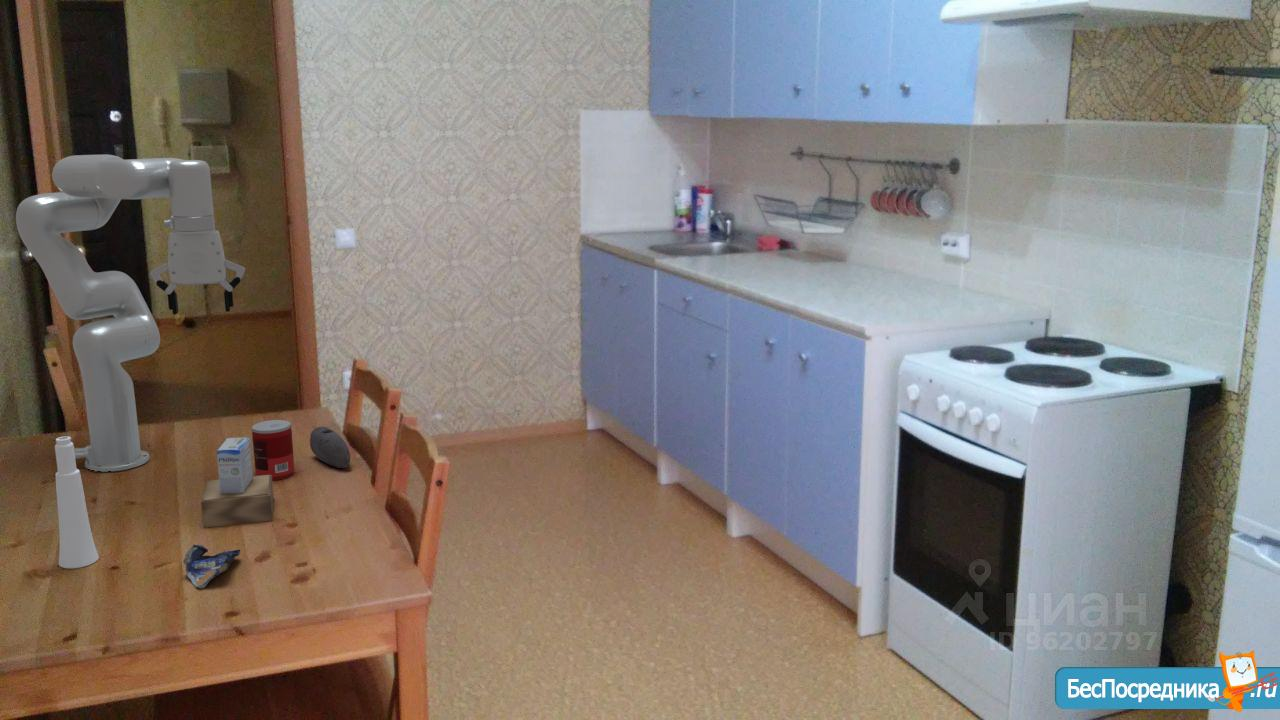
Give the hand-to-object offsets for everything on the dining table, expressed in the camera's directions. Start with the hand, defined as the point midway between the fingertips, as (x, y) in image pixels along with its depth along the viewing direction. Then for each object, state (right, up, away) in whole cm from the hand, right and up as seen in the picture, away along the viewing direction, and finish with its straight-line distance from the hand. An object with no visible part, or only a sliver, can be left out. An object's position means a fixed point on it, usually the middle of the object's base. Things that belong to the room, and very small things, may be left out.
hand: (202, 311), depth 209 cm
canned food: (+9, -34, +15) cm, 38 cm away
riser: (+10, -39, -6) cm, 40 cm away
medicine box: (+10, -34, -7) cm, 36 cm away
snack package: (+15, -45, -32) cm, 57 cm away
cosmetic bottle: (-9, -44, -28) cm, 53 cm away
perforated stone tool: (+19, -32, +23) cm, 44 cm away
